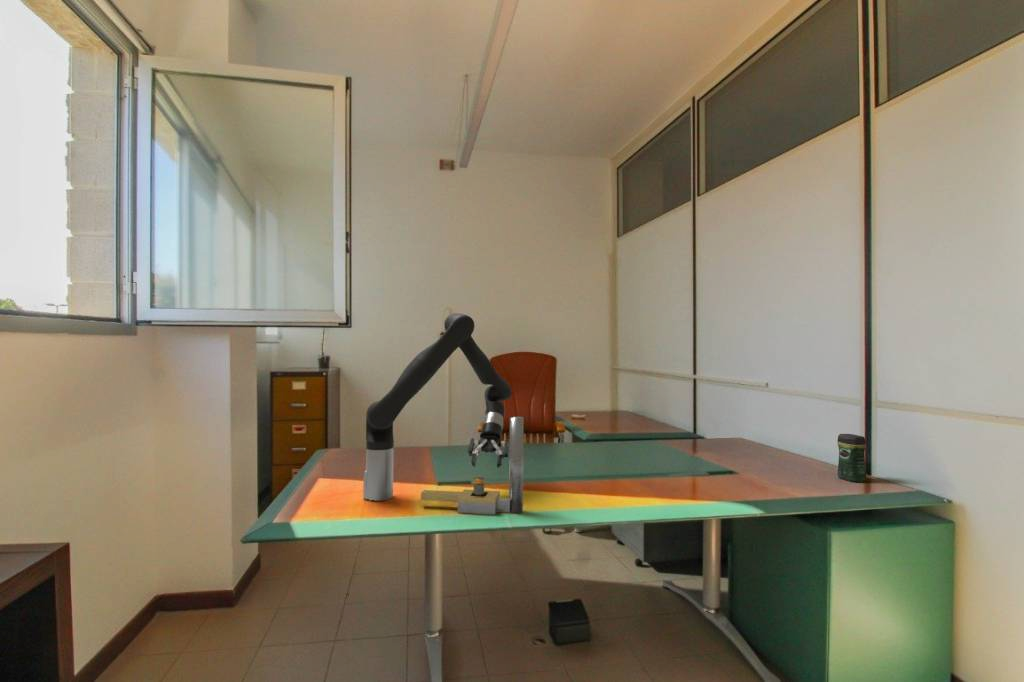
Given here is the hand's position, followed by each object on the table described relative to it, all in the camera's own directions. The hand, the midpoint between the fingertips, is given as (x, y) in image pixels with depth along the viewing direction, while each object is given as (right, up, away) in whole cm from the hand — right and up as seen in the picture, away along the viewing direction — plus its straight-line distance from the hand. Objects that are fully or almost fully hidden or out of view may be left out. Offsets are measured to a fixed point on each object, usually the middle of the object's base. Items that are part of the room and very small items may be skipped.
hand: (486, 465), depth 174 cm
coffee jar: (+148, -14, +32) cm, 152 cm away
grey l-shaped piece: (-4, -12, -10) cm, 16 cm away
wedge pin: (-2, -12, -10) cm, 16 cm away
